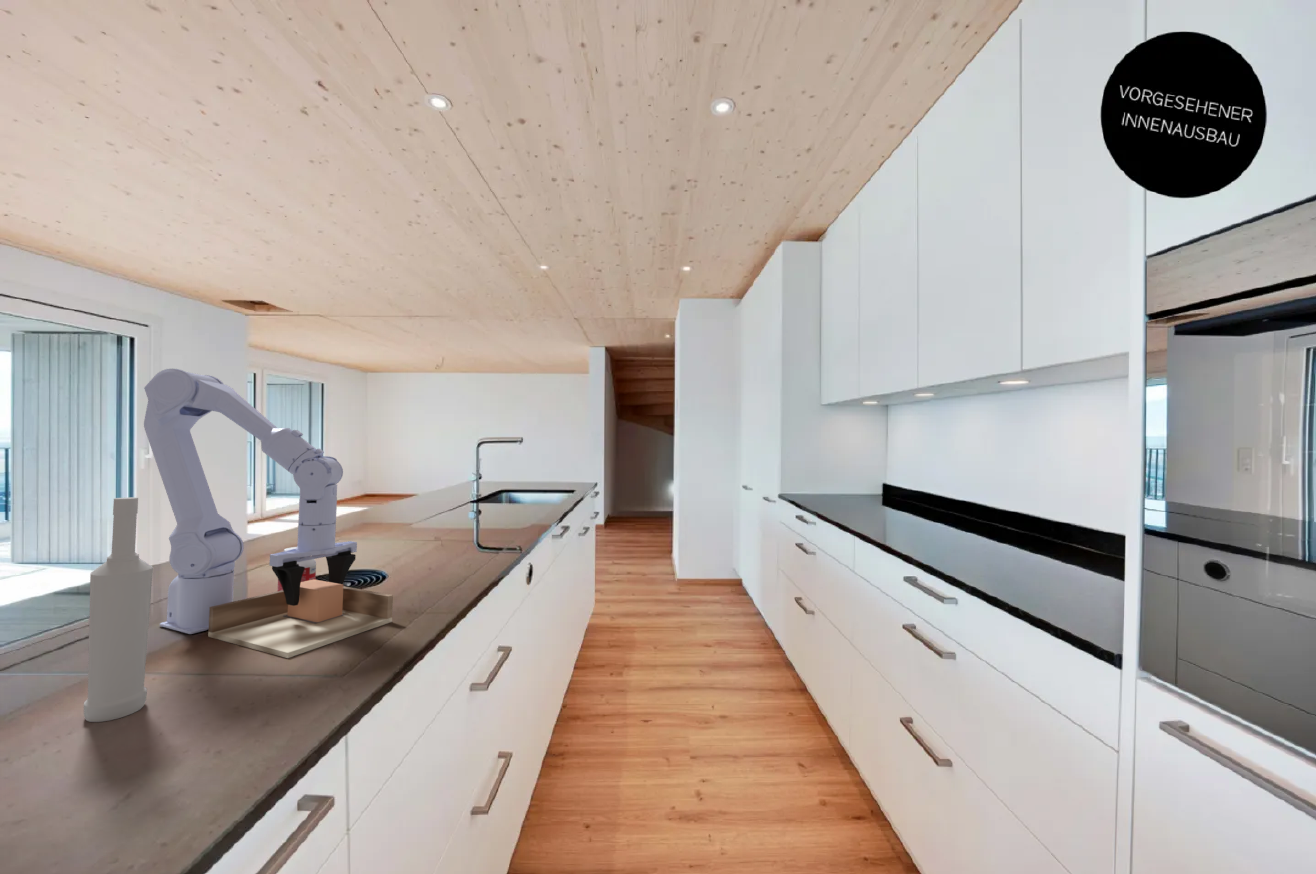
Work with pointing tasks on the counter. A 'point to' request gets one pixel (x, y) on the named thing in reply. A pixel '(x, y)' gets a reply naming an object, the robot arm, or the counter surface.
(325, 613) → the block
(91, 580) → the bottle
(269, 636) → the tray
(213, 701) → the counter surface
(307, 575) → the pill bottle
